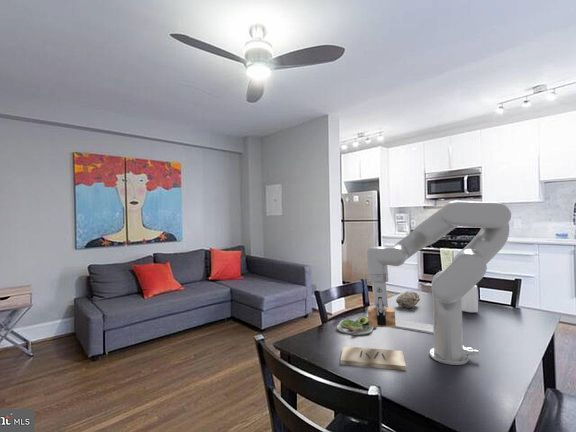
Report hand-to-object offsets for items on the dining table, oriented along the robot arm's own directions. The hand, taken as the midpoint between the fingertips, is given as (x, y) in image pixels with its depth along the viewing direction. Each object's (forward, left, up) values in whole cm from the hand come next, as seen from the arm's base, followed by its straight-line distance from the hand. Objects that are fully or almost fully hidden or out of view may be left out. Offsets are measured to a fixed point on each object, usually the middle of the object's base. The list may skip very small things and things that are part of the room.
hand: (381, 321), depth 124 cm
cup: (-46, -53, -10) cm, 71 cm away
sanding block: (0, 0, -1) cm, 1 cm away
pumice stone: (-17, -58, -10) cm, 62 cm away
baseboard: (-10, -28, -11) cm, 32 cm away
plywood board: (+4, +12, -10) cm, 16 cm away
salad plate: (+11, -19, -11) cm, 25 cm away
